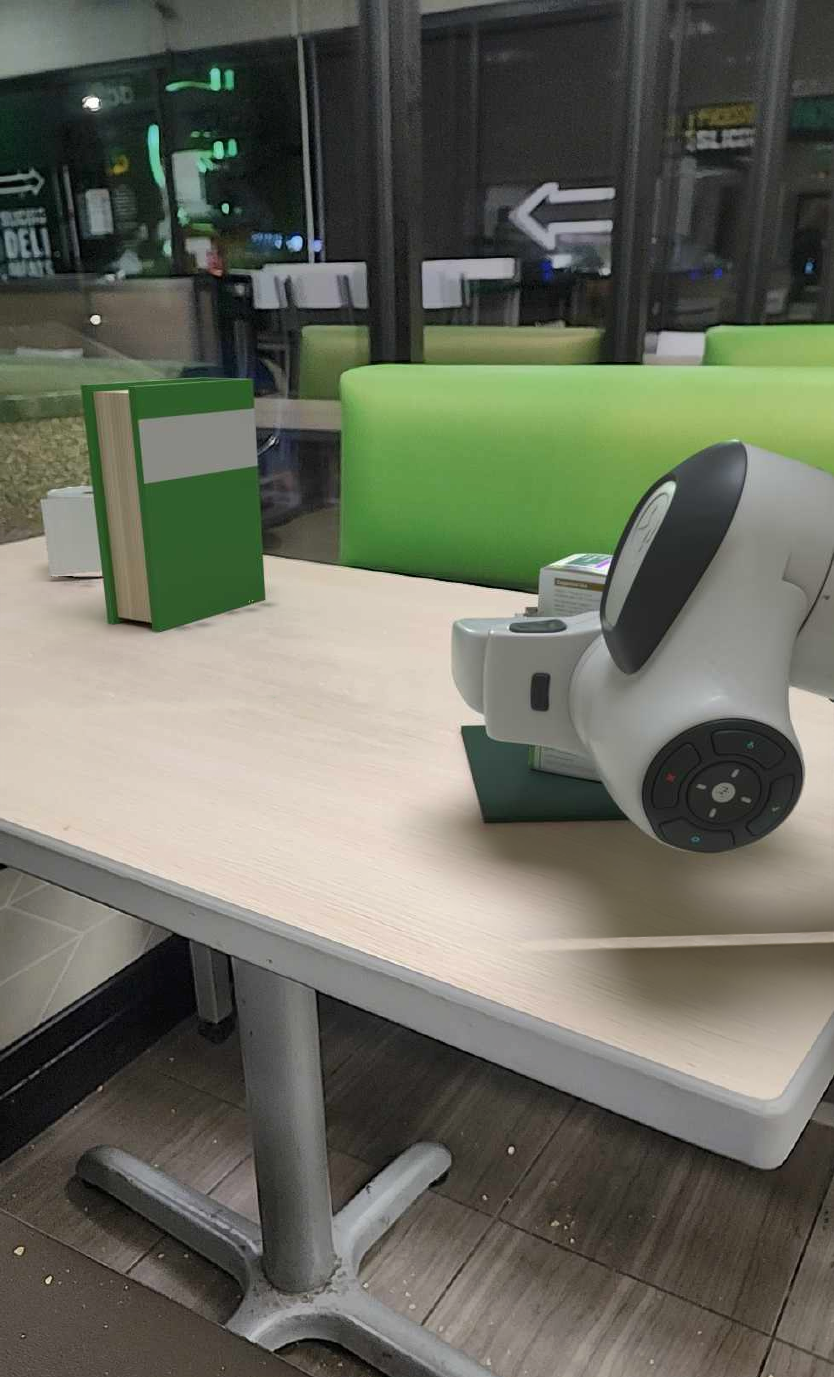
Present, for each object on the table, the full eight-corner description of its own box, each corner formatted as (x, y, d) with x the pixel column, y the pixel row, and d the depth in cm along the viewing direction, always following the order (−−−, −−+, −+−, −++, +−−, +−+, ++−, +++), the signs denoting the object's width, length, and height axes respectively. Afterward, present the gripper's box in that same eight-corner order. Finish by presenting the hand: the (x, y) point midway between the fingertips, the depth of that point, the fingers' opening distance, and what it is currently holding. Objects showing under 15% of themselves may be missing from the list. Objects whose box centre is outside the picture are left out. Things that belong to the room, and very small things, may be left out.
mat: (660, 726, 90) (661, 721, 90) (728, 816, 73) (729, 811, 73) (460, 730, 89) (461, 725, 89) (484, 822, 73) (484, 816, 73)
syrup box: (560, 745, 85) (570, 550, 79) (634, 759, 82) (651, 558, 76) (527, 769, 80) (535, 564, 74) (605, 785, 77) (619, 573, 72)
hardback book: (158, 632, 118) (135, 386, 108) (107, 623, 121) (80, 384, 112) (265, 599, 132) (252, 378, 122) (216, 592, 135) (200, 377, 125)
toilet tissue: (146, 561, 153) (138, 484, 149) (132, 579, 142) (123, 497, 138) (65, 562, 152) (56, 485, 148) (45, 581, 141) (34, 498, 137)
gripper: (831, 626, 62) (751, 574, 75) (462, 632, 62) (445, 578, 74) (815, 734, 65) (741, 666, 78) (461, 740, 64) (444, 671, 77)
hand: (594, 623), depth 76 cm, fingers open, 8 cm apart
